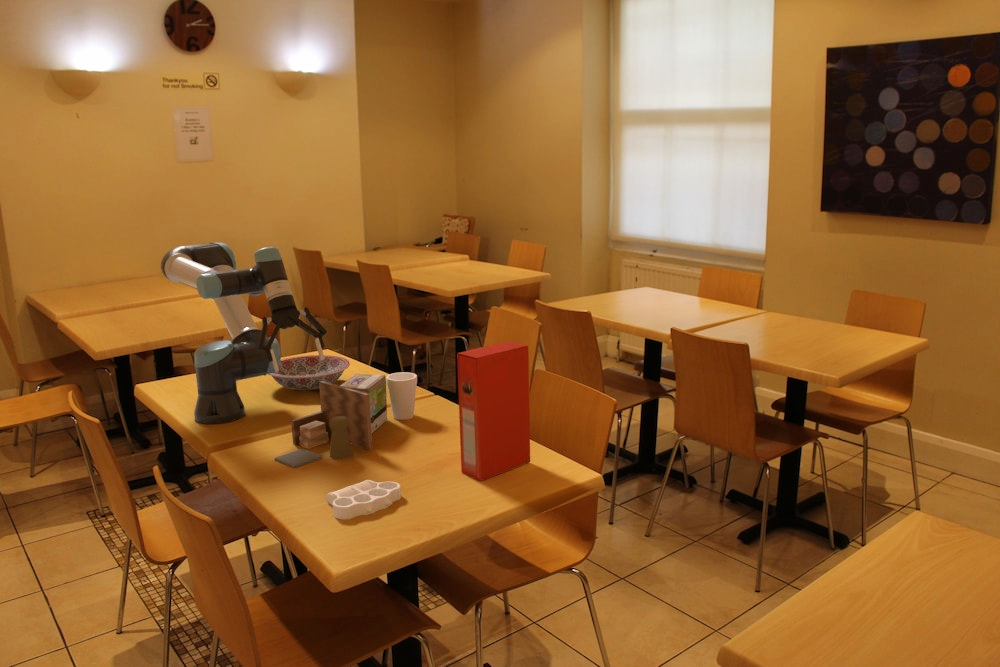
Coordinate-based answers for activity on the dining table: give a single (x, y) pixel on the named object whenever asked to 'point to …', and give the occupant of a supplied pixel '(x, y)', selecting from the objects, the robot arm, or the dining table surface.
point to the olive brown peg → (339, 438)
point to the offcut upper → (312, 429)
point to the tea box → (372, 395)
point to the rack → (341, 413)
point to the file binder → (494, 409)
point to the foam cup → (402, 394)
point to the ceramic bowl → (309, 371)
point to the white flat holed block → (363, 498)
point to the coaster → (298, 458)
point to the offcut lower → (313, 440)
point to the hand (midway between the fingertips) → (300, 365)
